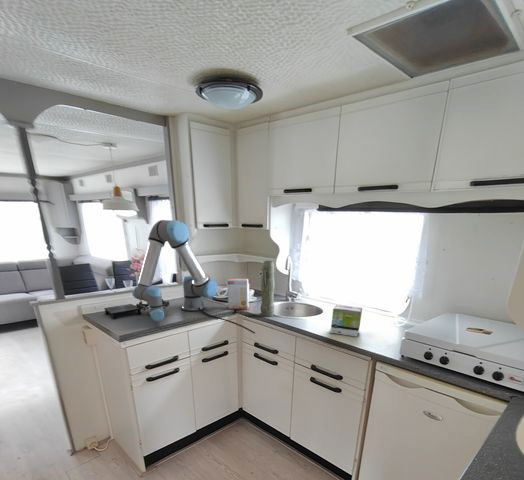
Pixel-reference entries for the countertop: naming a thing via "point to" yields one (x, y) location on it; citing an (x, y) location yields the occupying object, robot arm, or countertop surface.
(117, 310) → the black footed platform
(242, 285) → the cracker box
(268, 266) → the thermos
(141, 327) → the countertop surface
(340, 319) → the tea box
